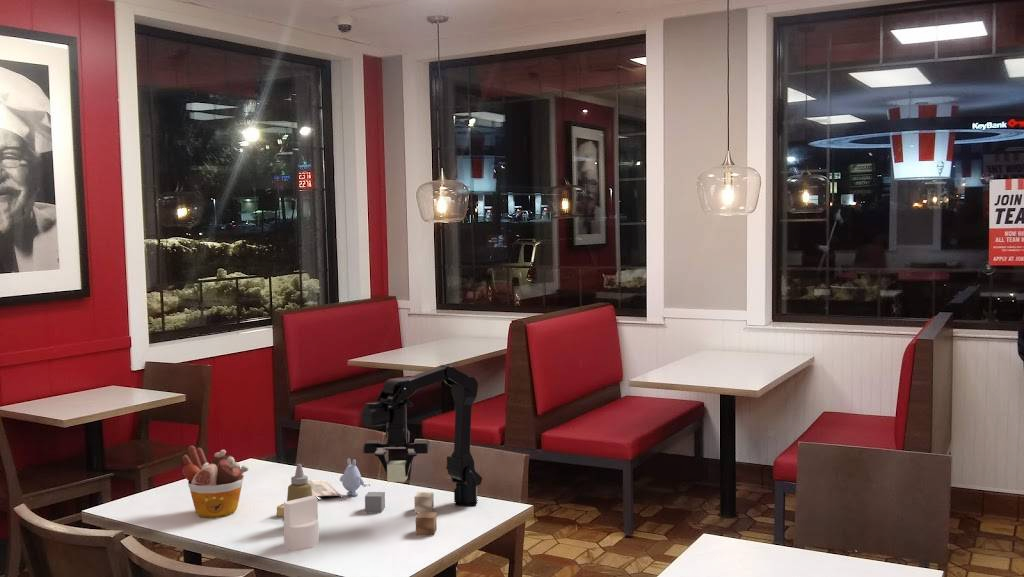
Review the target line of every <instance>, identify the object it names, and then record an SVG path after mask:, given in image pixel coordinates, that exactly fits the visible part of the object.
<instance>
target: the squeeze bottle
mask: <svg viewBox="0 0 1024 577" xmlns="http://www.w3.org/2000/svg"><path fill="white" fill-rule="evenodd" d="M308 478H309V476H308V475H305V474H304V469H303V467H302V463H297V464H296V468H295V474H294V475H292V476H291V477H290V480H291V481H290V482H291V484H289V485H288V487H287V496H286V502H287V501H291V500H295V499H300V498H304V497H308V496H312V488H311V484H309V483H307V482H308V481H309V479H308Z"/></svg>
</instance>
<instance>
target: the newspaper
mask: <svg viewBox="0 0 1024 577" xmlns="http://www.w3.org/2000/svg"><path fill="white" fill-rule="evenodd" d="M326 481H327V480H324V479H321V480H319V479H317V480H314V479H313V480H312V479H311V480H309V479H308V482H307V483H309V484H311V488H312V496H315V497H316V496H319V497H340V498H341V496H342V497H343V496H344V495H342V494H341V493H340V492H338V490H337V489H336V488H335V487H334V486H333V485H332V484H331V485H332V486H333V487H334V488H335V489H336V490H337V491H336V490H335V489H334V488H333V487H332V486H331V485H330V483H329V482H328V481H327V482H328V483H329V484H328V483H327V482H326ZM317 501H320V500H319V499H318V498H317Z"/></svg>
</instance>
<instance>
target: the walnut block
mask: <svg viewBox="0 0 1024 577" xmlns="http://www.w3.org/2000/svg"><path fill="white" fill-rule="evenodd" d="M416 514H417V515H416V516H415V536H435V534H436V531H437V528H438V527H437V526H438V525H437V512H434V511H432V512H419V513H416Z"/></svg>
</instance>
